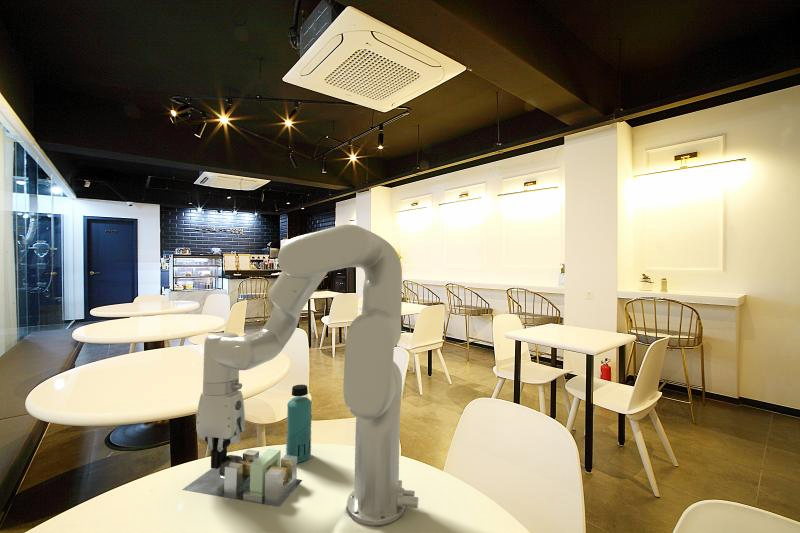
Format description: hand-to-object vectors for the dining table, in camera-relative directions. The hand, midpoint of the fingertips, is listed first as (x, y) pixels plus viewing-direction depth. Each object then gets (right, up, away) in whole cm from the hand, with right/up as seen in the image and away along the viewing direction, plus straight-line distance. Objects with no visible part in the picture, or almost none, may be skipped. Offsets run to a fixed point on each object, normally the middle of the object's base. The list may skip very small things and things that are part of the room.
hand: (218, 465), depth 83 cm
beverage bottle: (+16, -5, +11) cm, 20 cm away
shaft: (+9, -2, -2) cm, 10 cm away
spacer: (+12, -4, -3) cm, 13 cm away
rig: (+8, -5, -2) cm, 9 cm away
